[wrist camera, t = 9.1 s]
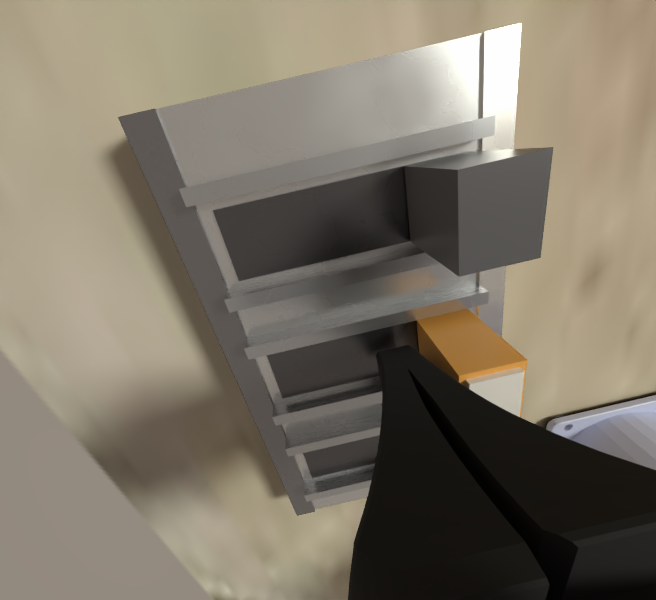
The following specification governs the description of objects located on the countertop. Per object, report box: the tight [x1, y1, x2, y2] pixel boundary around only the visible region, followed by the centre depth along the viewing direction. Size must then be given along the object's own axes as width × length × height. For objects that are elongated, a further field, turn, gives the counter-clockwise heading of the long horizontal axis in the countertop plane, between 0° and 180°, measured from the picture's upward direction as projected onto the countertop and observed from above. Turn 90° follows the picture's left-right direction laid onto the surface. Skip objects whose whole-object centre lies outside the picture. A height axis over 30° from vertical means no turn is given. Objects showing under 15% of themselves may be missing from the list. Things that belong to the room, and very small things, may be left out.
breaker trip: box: [416, 308, 527, 418], centre depth 10 cm, size 2×2×4 cm
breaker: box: [404, 147, 553, 277], centre depth 8 cm, size 2×2×3 cm
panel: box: [118, 23, 521, 516], centre depth 12 cm, size 11×19×2 cm, turn 12°
